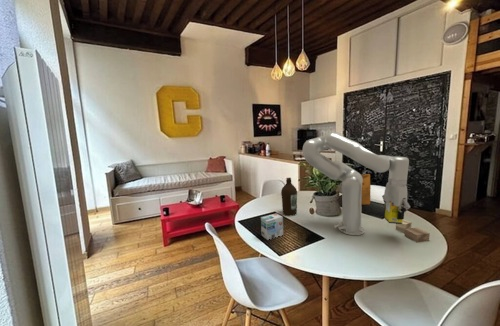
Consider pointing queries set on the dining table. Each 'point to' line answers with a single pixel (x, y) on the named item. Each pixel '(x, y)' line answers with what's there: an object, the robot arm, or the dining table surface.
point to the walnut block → (417, 234)
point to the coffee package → (365, 190)
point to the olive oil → (289, 198)
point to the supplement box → (392, 213)
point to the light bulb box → (272, 226)
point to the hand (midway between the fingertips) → (393, 215)
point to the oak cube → (403, 226)
